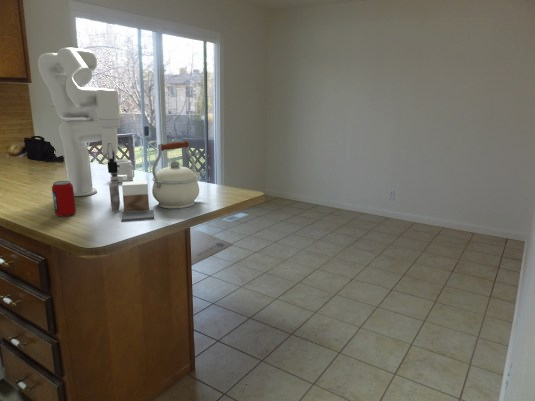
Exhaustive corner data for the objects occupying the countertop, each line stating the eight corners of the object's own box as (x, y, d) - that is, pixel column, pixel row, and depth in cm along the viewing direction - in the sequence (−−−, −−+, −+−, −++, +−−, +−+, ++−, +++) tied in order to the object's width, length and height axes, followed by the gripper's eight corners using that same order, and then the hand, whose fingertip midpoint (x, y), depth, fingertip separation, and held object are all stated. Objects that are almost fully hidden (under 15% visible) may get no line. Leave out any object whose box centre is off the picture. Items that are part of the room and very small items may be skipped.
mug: (106, 181, 195) (104, 161, 192) (121, 177, 205) (119, 158, 202) (127, 183, 190) (125, 163, 188) (141, 179, 200) (140, 160, 197)
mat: (121, 221, 133) (121, 219, 132) (122, 214, 141) (122, 212, 141) (154, 219, 136) (154, 216, 136) (153, 211, 144) (153, 209, 144)
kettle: (173, 214, 142) (169, 146, 135) (139, 206, 151) (134, 143, 144) (216, 200, 162) (215, 140, 156) (184, 194, 171) (182, 137, 165)
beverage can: (60, 212, 143) (56, 180, 139) (79, 211, 143) (75, 180, 140) (52, 217, 136) (47, 184, 133) (71, 217, 137) (67, 184, 134)
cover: (123, 195, 143) (122, 185, 142) (123, 192, 149) (122, 181, 148) (148, 194, 146) (147, 183, 145) (147, 190, 151) (147, 180, 150)
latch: (108, 180, 149) (107, 165, 147) (109, 179, 152) (107, 164, 150) (127, 179, 151) (125, 165, 149) (127, 178, 154) (126, 163, 152)
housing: (111, 212, 142) (108, 186, 140) (113, 203, 155) (111, 179, 152) (149, 210, 146) (147, 184, 144) (148, 201, 159) (146, 177, 156)
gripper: (99, 122, 148) (104, 169, 153) (96, 125, 134) (100, 176, 139) (120, 122, 150) (124, 168, 155) (119, 125, 136) (122, 176, 141)
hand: (113, 172), depth 147 cm, fingers closed
